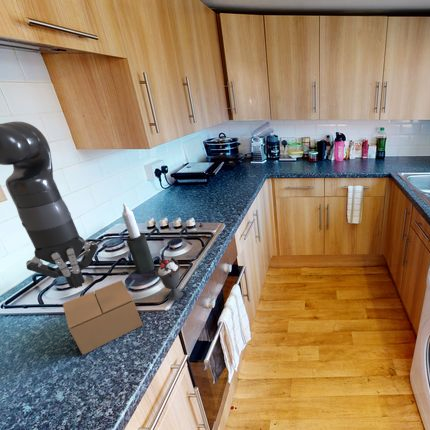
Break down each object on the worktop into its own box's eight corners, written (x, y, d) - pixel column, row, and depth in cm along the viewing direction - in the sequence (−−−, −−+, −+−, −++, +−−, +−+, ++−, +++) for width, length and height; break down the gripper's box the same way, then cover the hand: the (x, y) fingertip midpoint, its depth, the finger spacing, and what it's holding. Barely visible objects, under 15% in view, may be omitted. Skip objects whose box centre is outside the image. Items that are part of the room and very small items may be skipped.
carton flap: (68, 328, 65) (68, 327, 65) (63, 304, 72) (62, 303, 72) (102, 314, 69) (102, 312, 69) (93, 292, 76) (93, 291, 76)
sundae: (166, 307, 83) (152, 264, 76) (161, 295, 88) (148, 253, 81) (190, 298, 86) (178, 256, 80) (184, 286, 91) (173, 246, 85)
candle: (154, 270, 99) (133, 204, 88) (137, 275, 97) (113, 208, 86) (154, 263, 103) (133, 199, 92) (138, 267, 101) (115, 202, 90)
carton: (83, 356, 68) (67, 327, 64) (76, 330, 76) (62, 303, 72) (143, 325, 77) (132, 299, 73) (131, 305, 84) (121, 279, 80)
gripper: (84, 207, 67) (107, 267, 75) (4, 225, 59) (40, 291, 66) (89, 216, 63) (114, 280, 70) (4, 238, 54) (42, 307, 62)
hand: (78, 285), depth 68 cm, fingers closed
